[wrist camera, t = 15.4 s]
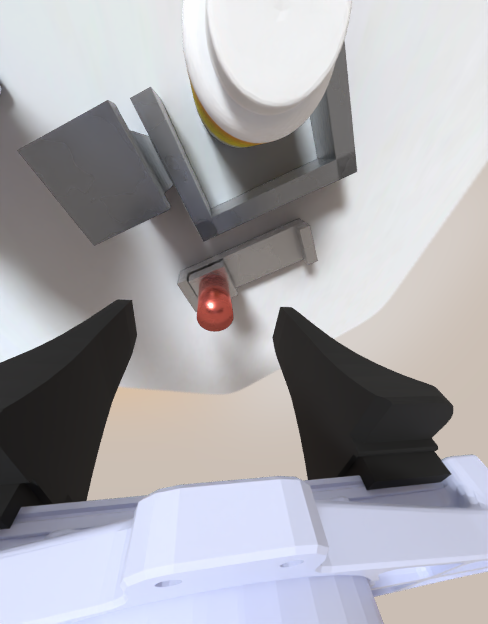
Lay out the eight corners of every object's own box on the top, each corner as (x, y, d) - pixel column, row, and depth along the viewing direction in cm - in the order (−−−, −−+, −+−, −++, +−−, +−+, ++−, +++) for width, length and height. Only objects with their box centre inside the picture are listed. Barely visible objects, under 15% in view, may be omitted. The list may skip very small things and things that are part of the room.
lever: (205, 301, 21) (204, 339, 17) (189, 275, 19) (184, 309, 15) (236, 288, 20) (244, 323, 16) (222, 260, 19) (227, 291, 15)
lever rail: (196, 298, 22) (195, 312, 20) (180, 271, 21) (177, 283, 19) (307, 250, 21) (317, 260, 19) (299, 218, 19) (309, 225, 17)
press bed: (160, 250, 19) (136, 298, 13) (88, 137, 15) (-3, 125, 8) (336, 169, 18) (409, 178, 11) (314, 15, 13) (415, -116, 7)
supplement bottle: (265, 159, 17) (325, 164, 8) (186, 131, 15) (161, 104, 7) (295, 51, 14) (431, -106, 6) (202, 4, 13) (191, -303, 4)
